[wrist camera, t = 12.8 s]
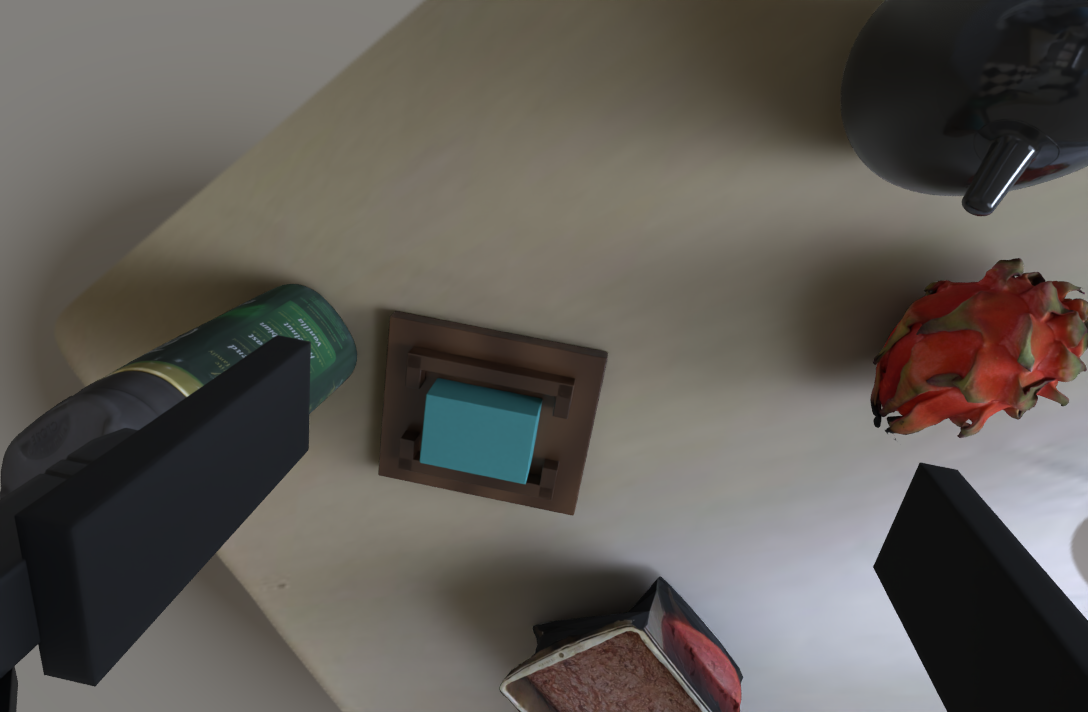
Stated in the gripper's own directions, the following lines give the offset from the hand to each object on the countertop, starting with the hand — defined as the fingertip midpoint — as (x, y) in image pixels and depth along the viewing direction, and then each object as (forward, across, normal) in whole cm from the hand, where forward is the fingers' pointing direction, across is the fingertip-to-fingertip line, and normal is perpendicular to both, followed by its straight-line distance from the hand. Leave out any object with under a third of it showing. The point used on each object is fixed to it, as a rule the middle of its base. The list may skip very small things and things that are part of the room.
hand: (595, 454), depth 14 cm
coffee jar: (+27, -20, -12) cm, 36 cm away
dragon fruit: (+27, +20, -3) cm, 34 cm away
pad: (+26, -6, -14) cm, 30 cm away
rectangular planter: (+27, +8, -32) cm, 43 cm away
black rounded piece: (+27, +14, +10) cm, 32 cm away
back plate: (+27, -6, -14) cm, 31 cm away
